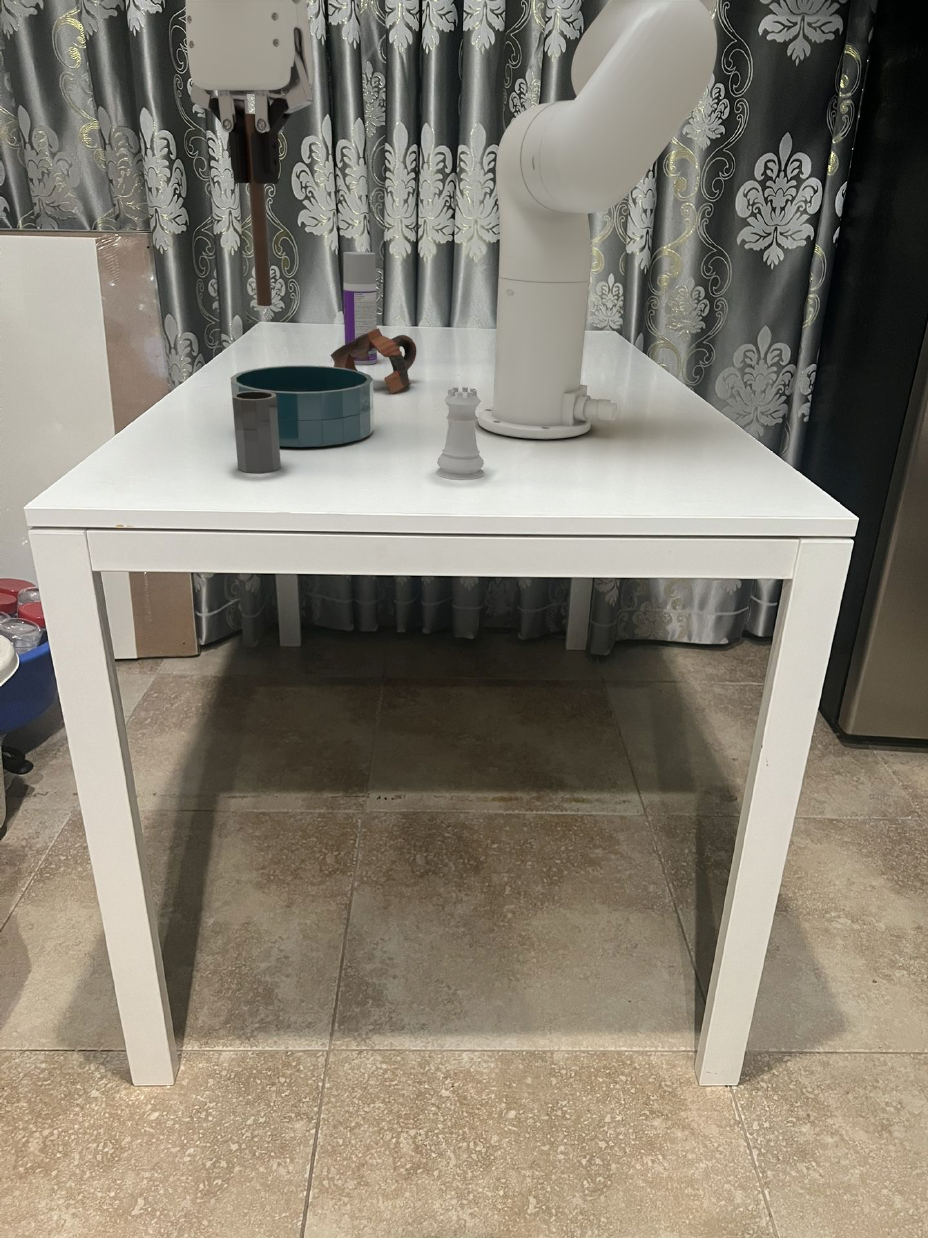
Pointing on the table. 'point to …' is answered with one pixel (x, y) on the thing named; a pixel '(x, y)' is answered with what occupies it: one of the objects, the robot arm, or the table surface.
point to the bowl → (315, 402)
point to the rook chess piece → (461, 437)
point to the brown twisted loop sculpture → (387, 348)
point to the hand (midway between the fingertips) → (256, 181)
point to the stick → (258, 223)
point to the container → (360, 298)
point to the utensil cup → (256, 431)
